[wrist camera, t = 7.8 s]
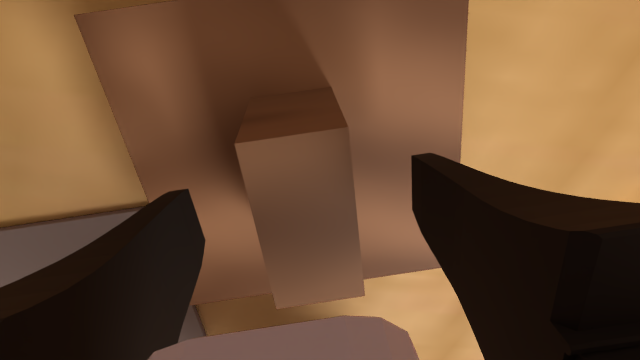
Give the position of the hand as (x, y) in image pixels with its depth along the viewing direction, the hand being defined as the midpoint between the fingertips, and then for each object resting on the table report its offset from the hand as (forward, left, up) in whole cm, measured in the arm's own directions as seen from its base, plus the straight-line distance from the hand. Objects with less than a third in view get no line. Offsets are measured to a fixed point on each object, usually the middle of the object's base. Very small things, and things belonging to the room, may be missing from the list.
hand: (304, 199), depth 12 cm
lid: (0, 0, -4) cm, 4 cm away
